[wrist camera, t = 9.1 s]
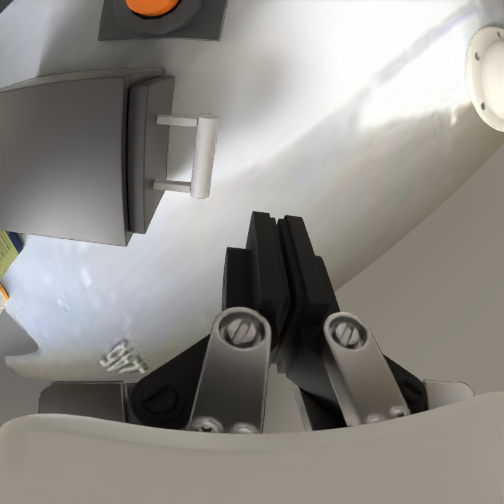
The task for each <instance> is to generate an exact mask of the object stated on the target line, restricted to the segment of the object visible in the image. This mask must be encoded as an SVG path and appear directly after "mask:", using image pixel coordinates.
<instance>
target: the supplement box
mask: <svg viewBox="0 0 504 504" xmlns="http://www.w3.org/2000/svg"><path fill="white" fill-rule="evenodd" d="M8 299H9V297H8V296H7V294H6V292H5V291H4V289H3V287H2V286H1V284H0V313H1V311H2V309H3V308H4V306H5V304H6V302H7V301H8Z"/></svg>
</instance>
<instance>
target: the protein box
mask: <svg viewBox="0 0 504 504" xmlns="http://www.w3.org/2000/svg"><path fill="white" fill-rule="evenodd" d="M22 249H23V245H22V243H21V242H20V240H19V238H18V236H17V234H16V233H15V232H9V231H2V230H0V279H1V278H2V276H3V275H4V273H5V272H6V271H7V269H8V268H9V266H10V265H11V264H12V262H13V261H14V259H15V258H16V257H17V255H18V254H19V253H20V252H21V251H22Z"/></svg>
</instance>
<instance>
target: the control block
mask: <svg viewBox="0 0 504 504" xmlns="http://www.w3.org/2000/svg"><path fill="white" fill-rule="evenodd" d="M227 3H228V0H179V1H178V2H177V4H176V5H175V6H174V7H173V8H172V9H171V10H169V11H168V12H166V13H164V14H162V15H158V16H146V15H142V14H140V13H137V12H134V11H133V10H131V9H130V8H129V7H128V5H127V3H126V0H104V4H103V9H102V15H101V21H100V28H99V35H98V41H110V40H123V39H150V38H166V39H193V40H207V41H218V42H219V41H220V38H221V33H222V28H223V23H224V18H225V13H226V8H227Z"/></svg>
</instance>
